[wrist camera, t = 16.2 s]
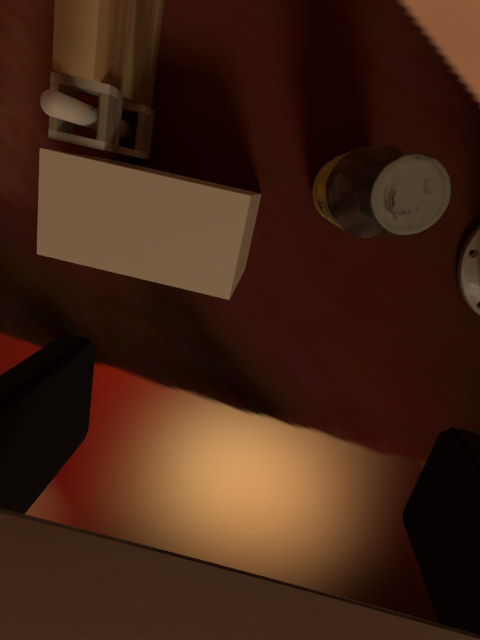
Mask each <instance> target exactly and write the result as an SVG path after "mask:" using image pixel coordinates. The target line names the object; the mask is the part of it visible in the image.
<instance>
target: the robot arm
mask: <svg viewBox="0 0 480 640" xmlns="http://www.w3.org/2000/svg"><path fill="white" fill-rule="evenodd" d="M470 250H472V253H471V254H469V252H470ZM457 280H458V287H459V290H460V292H461V295H462V297H463V299H464V300H465V302H466V303H467V304H468V306H469V307H470V308H471V309H472V310H474V311H475V312H476V313H477V314H478V315H480V303H479V304H478V302H480V224H479V225H478V226H477V227H476V228H475V229H474V230H473V232H472V233H471V235H470V236H469V238H468V239H467V240H466V242H465V244H464V246H463V249H462V251H461V253H460V257H459V261H458V265H457ZM477 304H478V305H477ZM94 359H95V346H94V345H92V344H90V340H89V339H88V338H86V337H82V336H78V335H74V334H70V333H65V334H63V335H62V336H60V337H59V338H57V339H56V340H54V341H53V342H51V343H49V344H48V345H46V346H45V347H43V348H42V349H40V350H39V351H37V352H36V353H34V354H33V355H31V356H30V357H28V358H27V359H25V360H24V361H22V362H21V363H19V364H18V365H16V366H14V367H13V368H12V369H10V370H8V371H7V372H5V373H4V374H2V375H1V376H0V640H480V437H479V435H477V434H476V433H473V432H469V431H465V430H461V429H457V428H453V427H452V428H449V429H448V430H447V431H442V432H441V433H440V434H439V436H438V438H437V440H436V442H435V444H434V446H433V448H432V450H431V453H430V455H429V457H428V459H427V461H426V463H425V466H424V468H423V470H422V472H421V474H420V476H419V478H418V481H417V482H416V485H415V487H414V489H413V491H412V493H411V495H410V497H409V500H408V502H407V504H406V506H405V508H404V512H403V522H404V526H405V528H406V531H407V534H408V537H409V540H410V543H411V545H412V548H413V551H414V554H415V557H416V560H417V563H418V566H419V568H420V571H421V574H422V577H423V580H424V583H425V586H426V589H427V591H428V594H429V597H430V600H431V603H432V605H433V609H434V611H435V614H436V617H437V620H438V623H439V624H438V623H434V622H431V621H427V620H423V619H420V618H416V617H412V616H409V615H405V614H401V613H398V612H394V611H390V610H387V609H383V608H379V607H375V606H372V605H368V604H365V603H361V602H357V601H353V600H350V599H346V598H342V597H339V596H335V595H331V594H328V593H324V592H320V591H316V590H313V589H309V588H305V587H301V586H297V585H294V584H290V583H286V582H283V581H279V580H275V579H271V578H268V577H264V576H260V575H256V574H253V573H249V572H245V571H241V570H238V569H234V568H230V567H225V566H222V565H218V564H215V563H211V562H207V561H203V560H199V559H195V558H192V557H188V556H184V555H180V554H176V553H173V552H169V551H165V550H161V549H157V548H154V547H150V546H146V545H142V544H138V543H134V542H130V541H127V540H122V539H119V538H115V537H111V536H107V535H103V534H100V533H95V532H91V531H88V530H84V529H80V528H76V527H72V526H68V525H65V524H61V523H57V522H53V521H49V520H45V519H41V518H37V517H33V516H29V515H25V513H26V512H27V510H28V509H29V508H30V507H31V505H32V504H33V503H34V502H35V500H36V499H37V498H38V497H39V495H40V494H41V493H42V492H43V490H44V489H45V488H46V486H48V484H49V483H50V482H51V480H52V479H53V478H54V477H55V475H56V474H57V473H58V472H59V470H60V469H61V468H62V467H63V466H64V464H65V463H66V462H67V461H68V459H69V458H70V457H71V456H72V454H73V453H74V452H75V450H76V449H77V448H78V447H79V446H80V444H81V443H82V442H83V440H84V439H85V437H86V434H87V432H88V426H89V415H90V403H91V392H92V381H93V369H94Z"/></svg>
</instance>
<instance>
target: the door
mask: <svg viewBox="0 0 480 640" xmlns="http://www.w3.org/2000/svg"><path fill="white" fill-rule="evenodd" d="M164 1H165V0H55V8H54V34H53V60H52V70H54V71H56V72H58V73H55V72H51V81H50V89H53V90H56V91H58V92H60V93H63V94H65V95H67V96H70V97H72V98H74V99H76V91H78V92H83V93H87V94H92V95H96V96H99V101H98V109H100V111H99V123H98V130H96V140H94V139H90V138H85V137H81V136H76V135H74V123H72V122H69V121H65V120H62V119H59V118H55V117H52V116H49V134H48V138H51V139H56V140H60V141H64V142H69V143H73V144H78V145H82V146H86V147H91V148H95V149H99V150H104V151H109V152H113V153H120V154H125V155H129V156H134V157H138V158H143V159H147V160H149V156H150V147H151V139H152V131H153V123H154V115H155V111H154V110H152V102H153V93H154V85H155V76H156V68H157V60H158V51H159V43H160V34H161V26H162V17H163V9H164ZM59 73H60V74H59ZM122 111H125V112H130V113H134V114H138V123H137V132H136V141H135V150H134V149H129V148H125V147H120V146H119V137H120V126H121V116H122Z"/></svg>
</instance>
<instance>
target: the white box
mask: <svg viewBox="0 0 480 640" xmlns="http://www.w3.org/2000/svg"><path fill="white" fill-rule="evenodd" d="M40 104H41V107H42V109H43V111H44V112H45V113H46V114H47V115H49V116H52V117H55V118H59V119H62V120H65V121H69V122H72V123H75V124H78V125H82V126H85V127H88V128H91V129H95V130H98V123H99V111H100V109H98V108H96V107H93V106H91V105H89V104H86V103H84V102H82V101H79V100H77V99H74V98H72V97H70V96H67V95H65V94H63V93H60V92H58V91H56V90H53V89H47V90H45V91H44V92H43V93H42V95H41V98H40ZM136 132H137V125H136V124H134V123H131V122H129V121H127V120H124V119H122V118H121V126H120V137H121V138H124V139H127V140H131V141H135V140H136ZM260 198H261V193H256V192H252V191H247V190H243V189H238V188H234V187H230V186H225V185H221V184H216V183H212V182H208V181H203V180H199V179H194V178H190V177H185V176H181V175H177V174H172V173H168V172H163V171H159V170H155V169H150V168H146V167H141V166H137V165H132V164H128V163H124V162H119V161H115V160H110V159H104V158H98V157H92V156H86V155H80V154H74V153H67V152H61V151H55V150H49V149H43V148H40V161H39V197H38V233H37V254H39V255H43V256H47V257H52V258H56V259H60V260H64V261H68V262H73V263H77V264H81V265H85V266H89V267H94V268H98V269H102V270H106V271H110V272H115V273H119V274H123V275H127V276H131V277H136V278H140V279H144V280H148V281H152V282H157V283H161V284H165V285H169V286H173V287H178V288H182V289H186V290H190V291H194V292H199V293H203V294H207V295H211V296H215V297H220V298H224V299H228V300H229V299H230V297H231V296H232V294H233V292H234V290H235V288H236V286H237V284H238V282H239V280H240V278H241V276H242V274H243V272H244V270H245V267H246V262H247V257H248V253H249V248H250V244H251V239H252V235H253V230H254V225H255V221H256V216H257V212H258V207H259V203H260Z"/></svg>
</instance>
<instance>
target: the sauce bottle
mask: <svg viewBox="0 0 480 640" xmlns="http://www.w3.org/2000/svg"><path fill="white" fill-rule="evenodd" d="M450 195H451V183H450V176H449V175H448V173H447V170H446V169H445V167H444V166H443V165H442V164H441V163H440V162H439V161H438V160H437V159H435V158H434V157H431V156H429V155H425V154H421V153H409V154H407V153H405V152H404V151H403V150H401V149H399V148H397V147H395V146H390V145H383V144H382V145H371V146H366V147H361V148H358V149H355V150H352V151H350V152H348V153H345V154H343V155H340V156H337V157H335V158H333V159H332V160H330V161H329V162H327V163H326V164H325V165H324V166H323V167H322V168H321V169H320V171H319V173H318V174H317V176H316V178H315V180H314V184H313V201H314V204H315V206H316V208H317V210H318V211H319V213H320V214H321V215H322V216H323V217H324V218H326V219H327V220H329V221H330V222H332V223H333V224H334V225H336V226H338V227H339V228H341V229H342V230H344V231H346V232H347V233H349V234H351V235H354V236H357V237H363V238H371V237H377V236H380V235H382V234H384V233H386V232H388V233H392V234H395V235H412V234H417V233H420V232H422V231H424V230H426V229H427V228H429V227H430V226H432V225H433V224H434V223H435V222H437V221H438V219H439V218H440V217H441V215H442V214H443V213H444V212H445V210H446V207H447V206H448V203H449V200H450Z"/></svg>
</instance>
